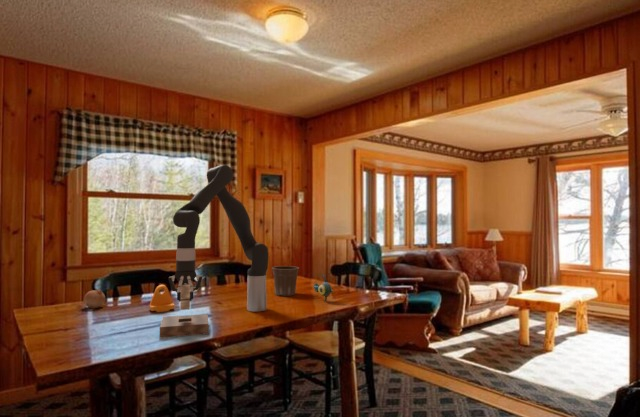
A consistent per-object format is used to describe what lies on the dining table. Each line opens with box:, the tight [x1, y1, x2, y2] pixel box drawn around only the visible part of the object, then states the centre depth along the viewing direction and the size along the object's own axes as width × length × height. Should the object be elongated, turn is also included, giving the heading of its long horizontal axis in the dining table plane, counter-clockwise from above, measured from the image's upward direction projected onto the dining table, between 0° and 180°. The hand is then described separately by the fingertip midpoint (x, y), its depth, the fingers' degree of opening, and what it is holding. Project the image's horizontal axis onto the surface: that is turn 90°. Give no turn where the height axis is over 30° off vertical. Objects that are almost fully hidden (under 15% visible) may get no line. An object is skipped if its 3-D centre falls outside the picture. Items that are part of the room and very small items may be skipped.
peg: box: [179, 284, 191, 311], centre depth 161 cm, size 4×4×10 cm
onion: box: [83, 289, 106, 309], centre depth 199 cm, size 10×9×10 cm
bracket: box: [148, 284, 175, 313], centre depth 195 cm, size 11×7×12 cm, turn 119°
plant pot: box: [271, 265, 300, 297], centre depth 236 cm, size 16×16×16 cm
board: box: [159, 313, 209, 338], centre depth 161 cm, size 18×16×4 cm
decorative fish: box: [313, 273, 334, 302], centre depth 218 cm, size 13×12×6 cm
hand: (185, 300), depth 162 cm, fingers closed on peg, 3 cm apart
